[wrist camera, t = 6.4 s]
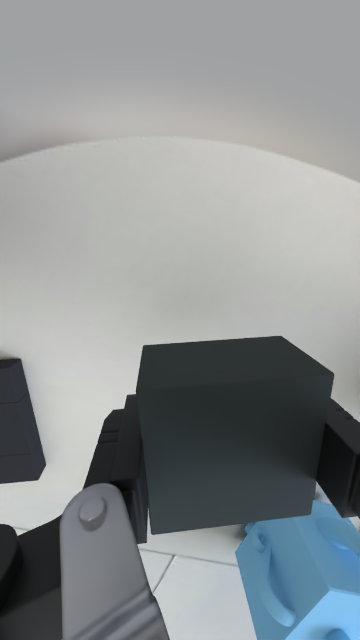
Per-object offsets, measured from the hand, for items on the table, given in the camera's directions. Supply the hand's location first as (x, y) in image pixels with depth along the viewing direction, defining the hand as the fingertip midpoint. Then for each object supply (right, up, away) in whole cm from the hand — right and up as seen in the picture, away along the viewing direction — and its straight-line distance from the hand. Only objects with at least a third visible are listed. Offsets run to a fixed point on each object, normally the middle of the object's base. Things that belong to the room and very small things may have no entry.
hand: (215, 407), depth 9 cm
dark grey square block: (0, 0, 0) cm, 0 cm away
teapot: (+15, -23, +25) cm, 37 cm away
